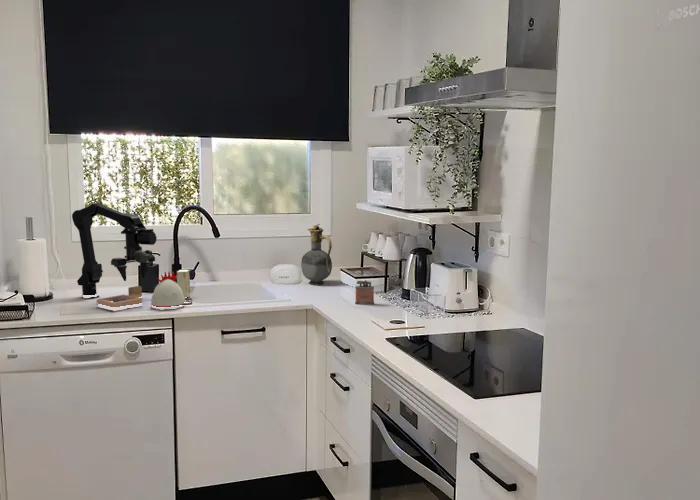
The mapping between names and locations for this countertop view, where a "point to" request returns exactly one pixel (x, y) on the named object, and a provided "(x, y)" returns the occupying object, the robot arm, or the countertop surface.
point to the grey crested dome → (167, 292)
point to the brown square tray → (119, 300)
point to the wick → (135, 291)
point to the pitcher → (317, 258)
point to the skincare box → (184, 281)
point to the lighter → (364, 293)
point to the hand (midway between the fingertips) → (134, 279)
